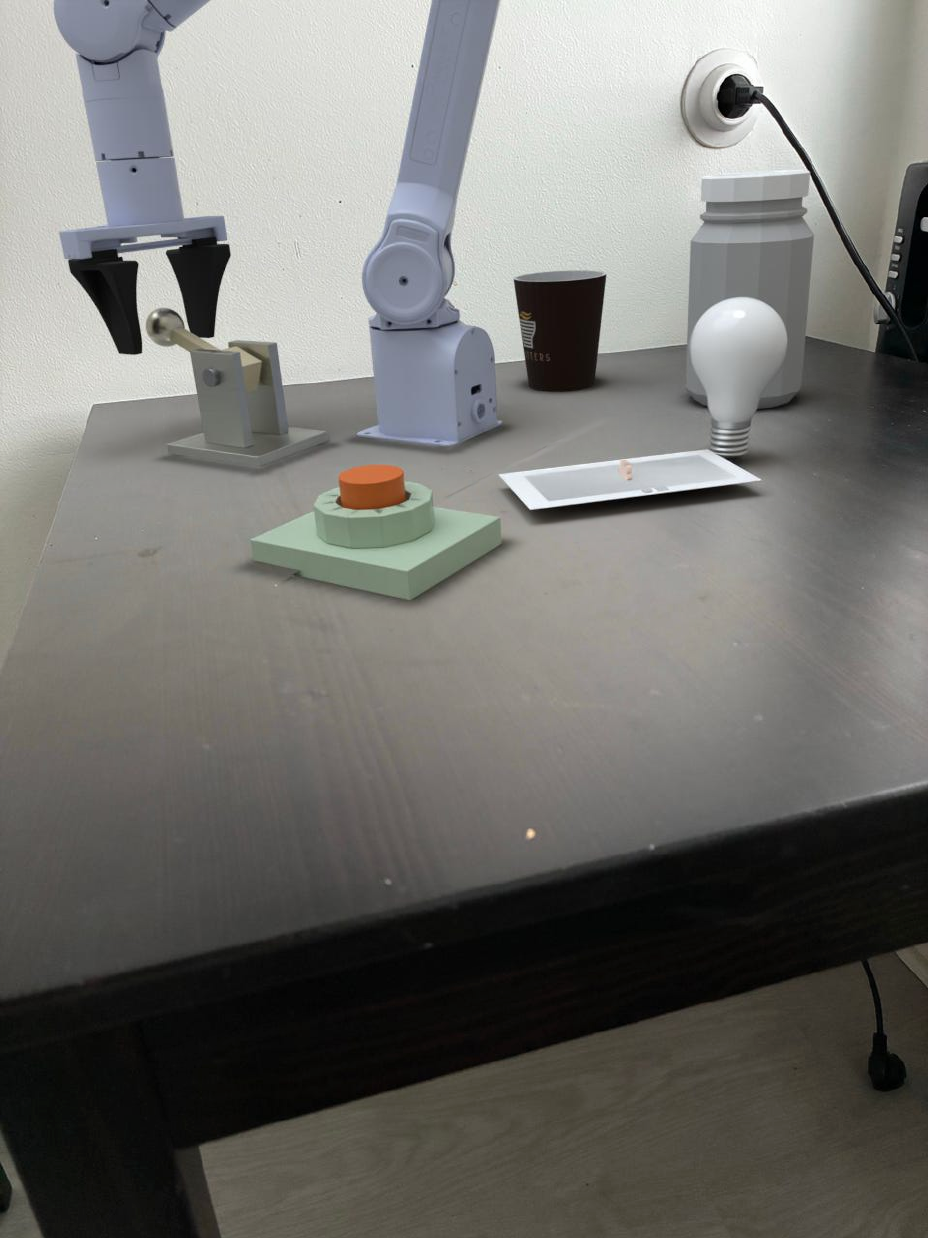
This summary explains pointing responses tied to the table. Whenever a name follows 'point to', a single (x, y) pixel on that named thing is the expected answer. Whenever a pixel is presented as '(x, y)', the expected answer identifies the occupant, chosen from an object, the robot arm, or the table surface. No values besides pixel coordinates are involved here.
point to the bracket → (242, 410)
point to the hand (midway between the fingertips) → (168, 345)
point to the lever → (195, 342)
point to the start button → (372, 487)
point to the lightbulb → (736, 366)
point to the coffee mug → (560, 327)
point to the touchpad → (624, 478)
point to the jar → (754, 262)
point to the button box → (380, 543)
